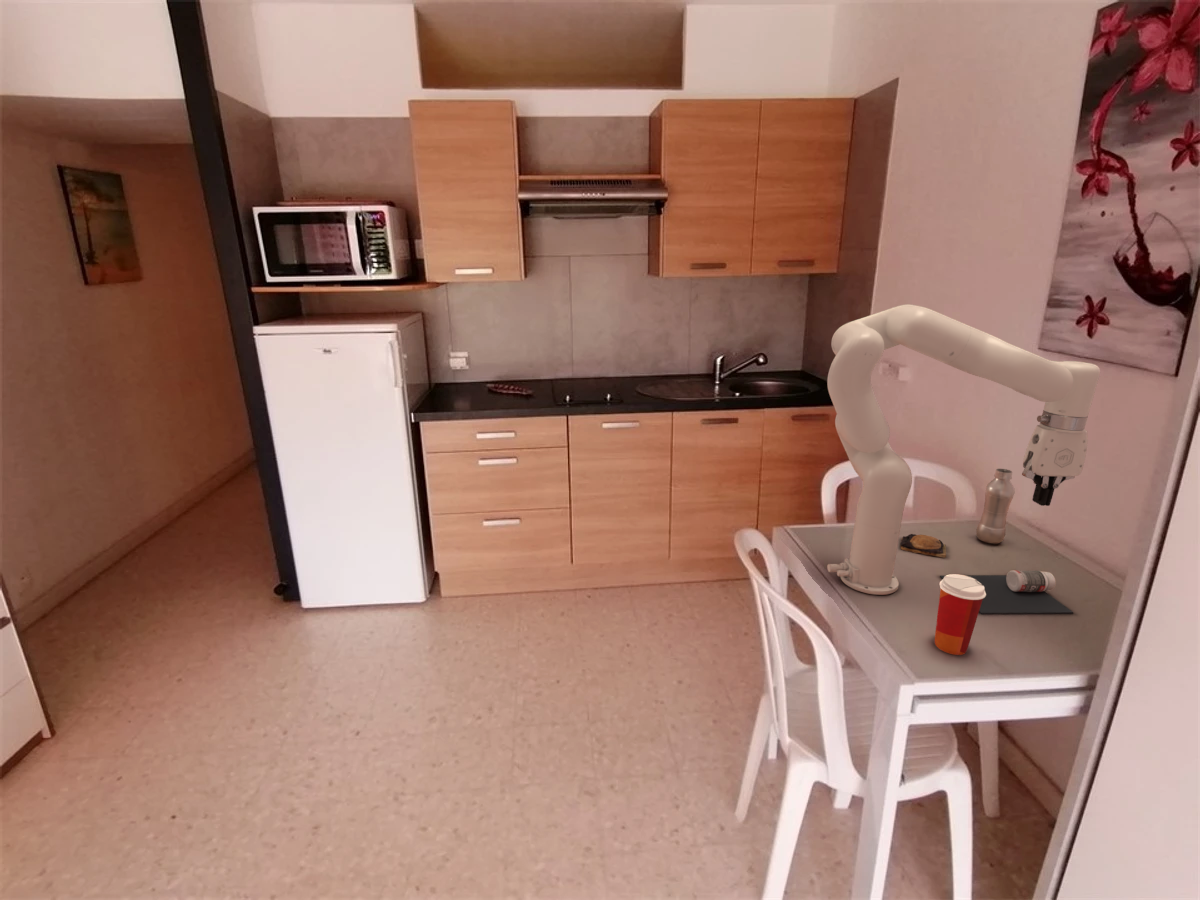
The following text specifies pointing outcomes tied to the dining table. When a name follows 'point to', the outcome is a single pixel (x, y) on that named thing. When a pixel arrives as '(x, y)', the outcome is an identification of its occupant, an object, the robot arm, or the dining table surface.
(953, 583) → the paper cup
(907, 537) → the bread roll
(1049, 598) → the mat
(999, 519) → the plastic bottle
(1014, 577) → the pill bottle
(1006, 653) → the dining table surface
